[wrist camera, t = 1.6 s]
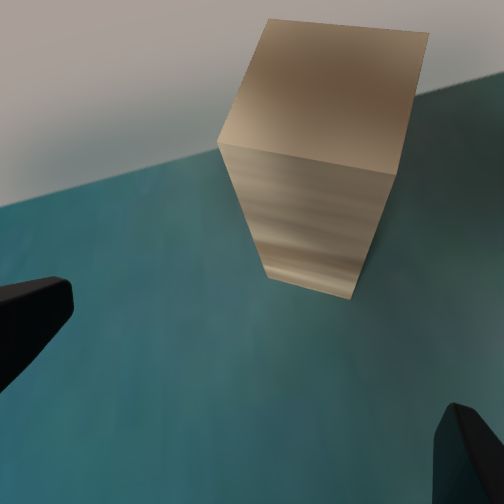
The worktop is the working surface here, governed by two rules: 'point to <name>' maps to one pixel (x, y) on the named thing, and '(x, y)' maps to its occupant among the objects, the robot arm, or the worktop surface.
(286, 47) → the maple block
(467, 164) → the worktop surface
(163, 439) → the worktop surface
